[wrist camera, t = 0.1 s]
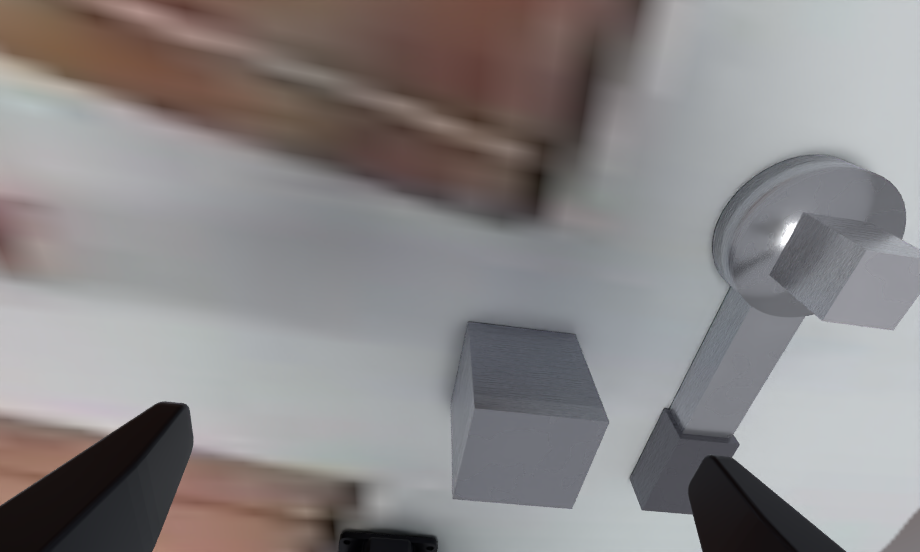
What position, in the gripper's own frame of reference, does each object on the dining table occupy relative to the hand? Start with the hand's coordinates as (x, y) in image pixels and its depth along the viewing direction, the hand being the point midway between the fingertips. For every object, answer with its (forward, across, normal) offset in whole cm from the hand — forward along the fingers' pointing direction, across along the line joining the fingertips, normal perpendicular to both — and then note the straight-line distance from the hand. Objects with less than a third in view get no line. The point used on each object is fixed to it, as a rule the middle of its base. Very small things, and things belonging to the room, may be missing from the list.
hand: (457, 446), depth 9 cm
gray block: (+14, -5, +10) cm, 18 cm away
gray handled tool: (+15, -16, +7) cm, 23 cm away
